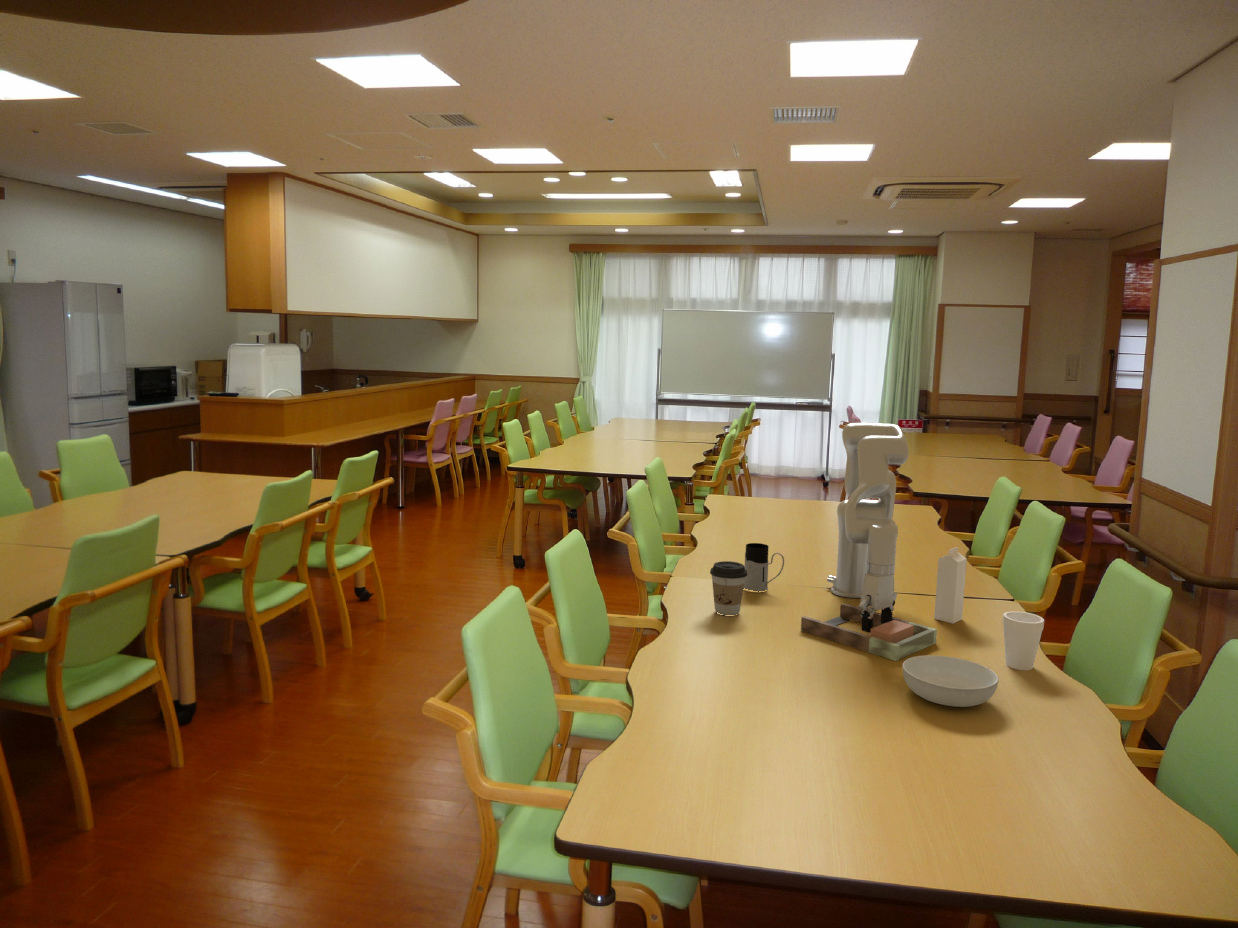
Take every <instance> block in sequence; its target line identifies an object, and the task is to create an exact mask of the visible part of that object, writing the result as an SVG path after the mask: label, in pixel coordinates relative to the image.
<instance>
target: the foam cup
mask: <svg viewBox="0 0 1238 928" xmlns="http://www.w3.org/2000/svg"><path fill="white" fill-rule="evenodd" d="M1001 624H1002V625H1003V641H1004V642H1003V643H1004V658H1005V660H1004V661H1005V666H1007V667H1009V668H1011V669H1014V670H1019V671H1031V670H1032V669H1033V668H1034V665H1035V661H1036V656H1037V653H1038V648H1039V645H1040V640H1041V636H1042V633H1043V630H1044V628H1045V627H1044V626H1045V619H1044V618H1043V617H1042V616H1040V615H1038V614H1036V613H1035V614H1034V613H1030V612H1025V611H1019V610H1018V611H1016V610H1015V611H1006V612H1004V613H1003V614H1002V623H1001Z"/></svg>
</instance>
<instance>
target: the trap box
mask: <svg viewBox="0 0 1238 928" xmlns="http://www.w3.org/2000/svg"><path fill="white" fill-rule="evenodd" d="M867 611H868V613H870V610H867ZM839 612H840V613H839V616H836V617H834V618H831V619H828V620H825V621H822V620H819V619H817V618H813V617H809V616H806V615H803V616H801V622H800V631H801V632H804V633H808V634H810V635H814V636H815V637H819V638H822V639H825V640H829V641H832V642H836V643H838V644H841V645H844V646H847V647H851V648H853V649H857V650H859V651H864V652H866V653H869V654H873V655H875V656H878V657H881V658H884V659H888V660H891V661H894V662H897V661H899V660H901V659H902V660H903V659H904V658H906V657H908V656H911V655H913V654H916V653H917V652H919V651H921V650H924V649H926V648H928V647H931V646H933V645H935V644H937V635H938V629H937V628H934V627H929V626H927V625H923V624H919V623H915V622H912V621H909V620H906V619H902V618H898V617H894V616H892V620H897V621H900V622H904V623H907V624H911V625H914V631H913V636H911V637H909V638H907V639H904V640H902V641H900V642H897V643H895V644H894V643H891V642H888V641H884V640H881V639H878V638H875V637H871V636H870V635H869V634H868V635H867V634H865V633H861V632H858V631H854V630H851V629H849V628H848V629H847V628H845V627H841V626H839V625H842V624H845V623H848V622H851V621H852V622H856V623H858V624H859V623H860V624H862V617H861V613H860V608H859V606H855V605H852V604H847V603H845V602H843V603H840V609H839ZM872 619H873V628H874V627H877V626H879V625H882V623H881V612H878V611H875V612H874V614H873V617H872Z"/></svg>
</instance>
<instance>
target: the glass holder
mask: <svg viewBox="0 0 1238 928" xmlns="http://www.w3.org/2000/svg"><path fill="white" fill-rule="evenodd" d="M776 555H779V556H781V558H782V564H781V568H780V570H779V572H778V573H777V575H776V576H774V577H773V578H771V579H770V580H769V579H768V578H769V565H772V564H773V560H774V556H776ZM784 566H785V557H784V555H783V554H782V553H780V552H775V553H773V554H772V555H771V558H770V562H769V545H768V544H765V543H762V542H761V543H759V542H749V543H746V544H745V552H744V567H745V569H746V570H747V576H746V577H745V583H744V588H745V589H748V590H753V591H758V592H759V591H765V590H768V589H769V586H768V585H769V583H770V582H772V581H774V580H775V579H776V578H778V577H779V576H780V575H781V574H782V571H783V569H784Z"/></svg>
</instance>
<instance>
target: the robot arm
mask: <svg viewBox="0 0 1238 928" xmlns="http://www.w3.org/2000/svg"><path fill="white" fill-rule="evenodd" d="M841 433H842V435H841V437H842V443H843V446H844V449H845V452H846V464H845V472H844V474H845V475H844V491H845V493H846V495H847V496H849V497H848V498H847V499H843V500H842V501H840V503H839V504H837V505H838V506H837V509H836V512H837V513H836V514H837V523H838V524H837V525H838V545H837V561H836V563H837V564H836V576H835V575H830V574H829V575H828V577H827V580H826V582H828V583H832V586H831V588H830V592H831V593H833V595H835V596H839V597H843V598H850V599H860V602H859V604H858V607H859V608H860V613H861V617H862V623H861V625H860V626H861V627H860V629H861V631H862V632H865V633H868V634H870V632H871V628H874V627H873V619H872V617H873V614H874V612H878V611H880V613H881V623H882V624H884V623H887V622H890V621H892V617H893V613H894V610H895V608H894V606H895V604H896V601H897V600H896V599H897V595H898V594H897V592H895V572H896V571H895V570H896V569H895V568H896V556H897V555H896V553H897V539H898V535H899V527H898V524H896V522H895V520H894V519H893V518H894V510H895V502H896V501H895V500H896V492H897V480H896V479H897V478H896V475H895V473H894V471H891V470H890V469H889V465H904V464H905V463H907V461H908V459H909V455H910V454H909V453H910V449H909V448H910V447H909V443H908V439H907V438H906V435H905V434H904V432H903V430H902V428H901V426H899V425H898V424H895V423H877V422H875V423H874V422H872V423H871V422H852V423H851V422H850V423H847V424H845V426H844V427H843V428H842V432H841ZM867 610H870V613H868V611H867Z"/></svg>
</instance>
